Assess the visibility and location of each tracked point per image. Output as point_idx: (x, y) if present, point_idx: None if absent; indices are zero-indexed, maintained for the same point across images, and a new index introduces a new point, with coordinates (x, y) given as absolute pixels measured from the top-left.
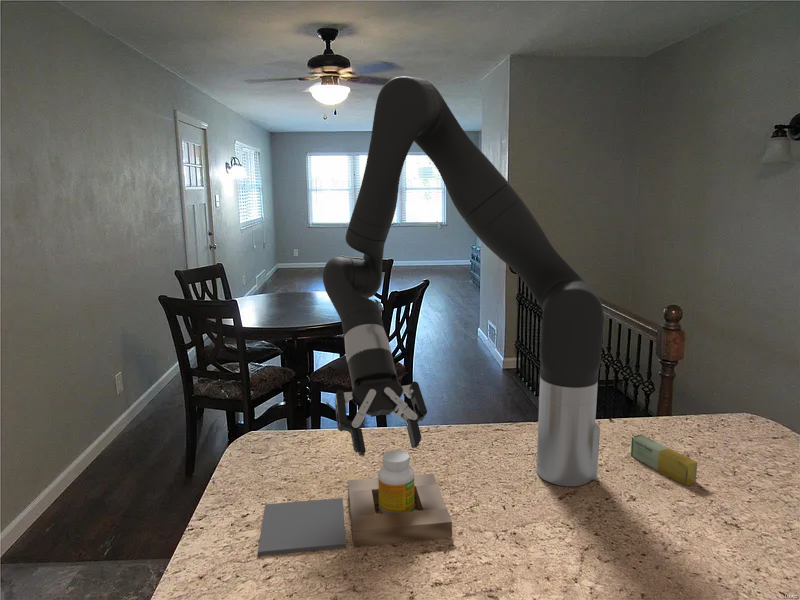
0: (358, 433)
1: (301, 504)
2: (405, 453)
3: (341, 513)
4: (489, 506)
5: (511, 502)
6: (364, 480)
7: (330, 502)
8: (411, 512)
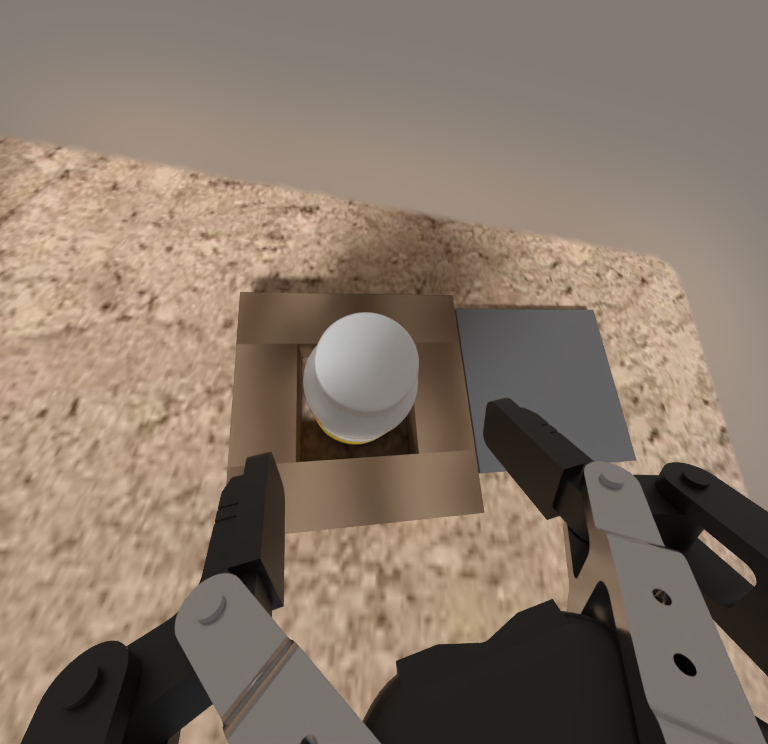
0: (559, 445)
1: None
2: (327, 373)
3: (475, 406)
4: (112, 416)
5: (38, 429)
6: (439, 507)
7: None
8: None
